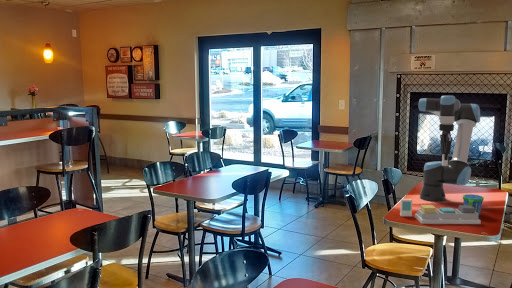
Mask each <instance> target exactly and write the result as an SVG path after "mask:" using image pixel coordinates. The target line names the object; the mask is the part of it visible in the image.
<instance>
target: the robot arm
mask: <svg viewBox="0 0 512 288" xmlns="http://www.w3.org/2000/svg"><path fill="white" fill-rule="evenodd" d="M417 105H418V110H419V111H420V112H429V113H432V114H433V115H436V116H437V117H438V120H439V126H438V130H439V131H440V132H441V134H440V135H439V137H440V152H441V153H442V154H441V155H442V157H441V159H442V160H441V161H439V160H438V161H428V162H425V164H424V166H423V182H422V183H423V184H422V185H423V186H422V188H421V190H420V193H419V198H420V199H421V200H424V201H430V202H431V201H432V202H441V201H442V202H443V201H446V192H445V190H444V184H446V185H447V184H448V185H454V186H455V185H456V186H467V184H468V183H469V181H470V179H471V175H472V168H471V166H470V164H469V162H468V158H469V152H470V145H471V141H472V135H473V129H474V128H475V127H477V124H479V123H481V110H480V105H478V104H477V103H461V102H460V100H459V99H457V98H456V96H454V95H441V97H440V98H426V97H425V98H423V97H422V98H420V99H419V101H418V104H417ZM455 124H456V125H457V132H456V137H455V142H454V145H453V146H454V147H453V151H452V152H453V153H452V158H451V160H449V154H450V155H451V148H452V141H453V137H452V134H451V132H453V131H454V130H455Z"/></svg>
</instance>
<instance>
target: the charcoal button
mask: <svg viewBox="0 0 512 288" xmlns="http://www.w3.org/2000/svg"><path fill="white" fill-rule="evenodd" d="M458 209H459V211H460V212H462V213H475V208H474V207H472V206H471V205H464V204H459V205H458Z"/></svg>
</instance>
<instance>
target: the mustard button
mask: <svg viewBox="0 0 512 288" xmlns="http://www.w3.org/2000/svg"><path fill="white" fill-rule="evenodd" d="M420 209H421V211H422V212H423V213H436V209H437V208H436V207H435V206H434V205H433V204H421V205H420Z"/></svg>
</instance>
